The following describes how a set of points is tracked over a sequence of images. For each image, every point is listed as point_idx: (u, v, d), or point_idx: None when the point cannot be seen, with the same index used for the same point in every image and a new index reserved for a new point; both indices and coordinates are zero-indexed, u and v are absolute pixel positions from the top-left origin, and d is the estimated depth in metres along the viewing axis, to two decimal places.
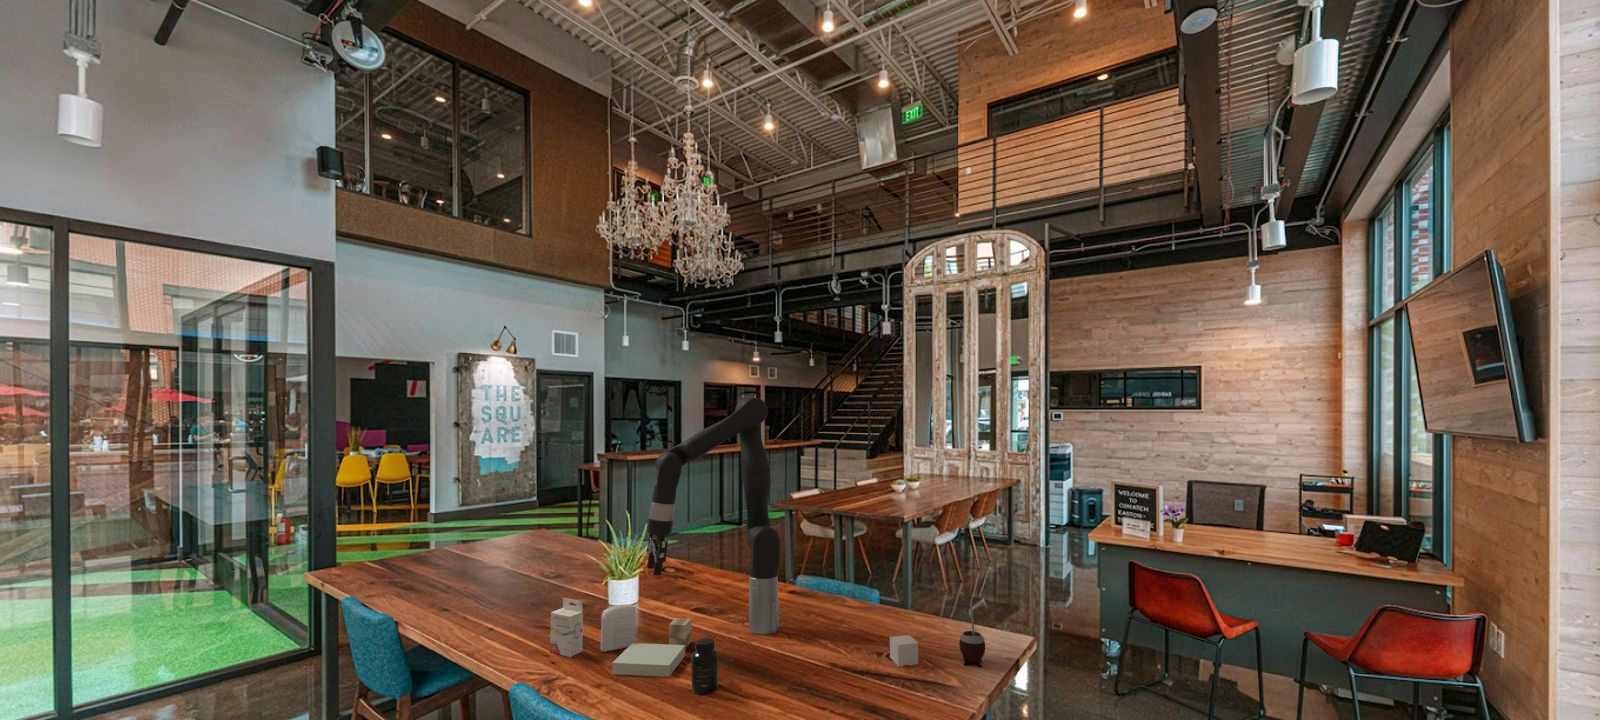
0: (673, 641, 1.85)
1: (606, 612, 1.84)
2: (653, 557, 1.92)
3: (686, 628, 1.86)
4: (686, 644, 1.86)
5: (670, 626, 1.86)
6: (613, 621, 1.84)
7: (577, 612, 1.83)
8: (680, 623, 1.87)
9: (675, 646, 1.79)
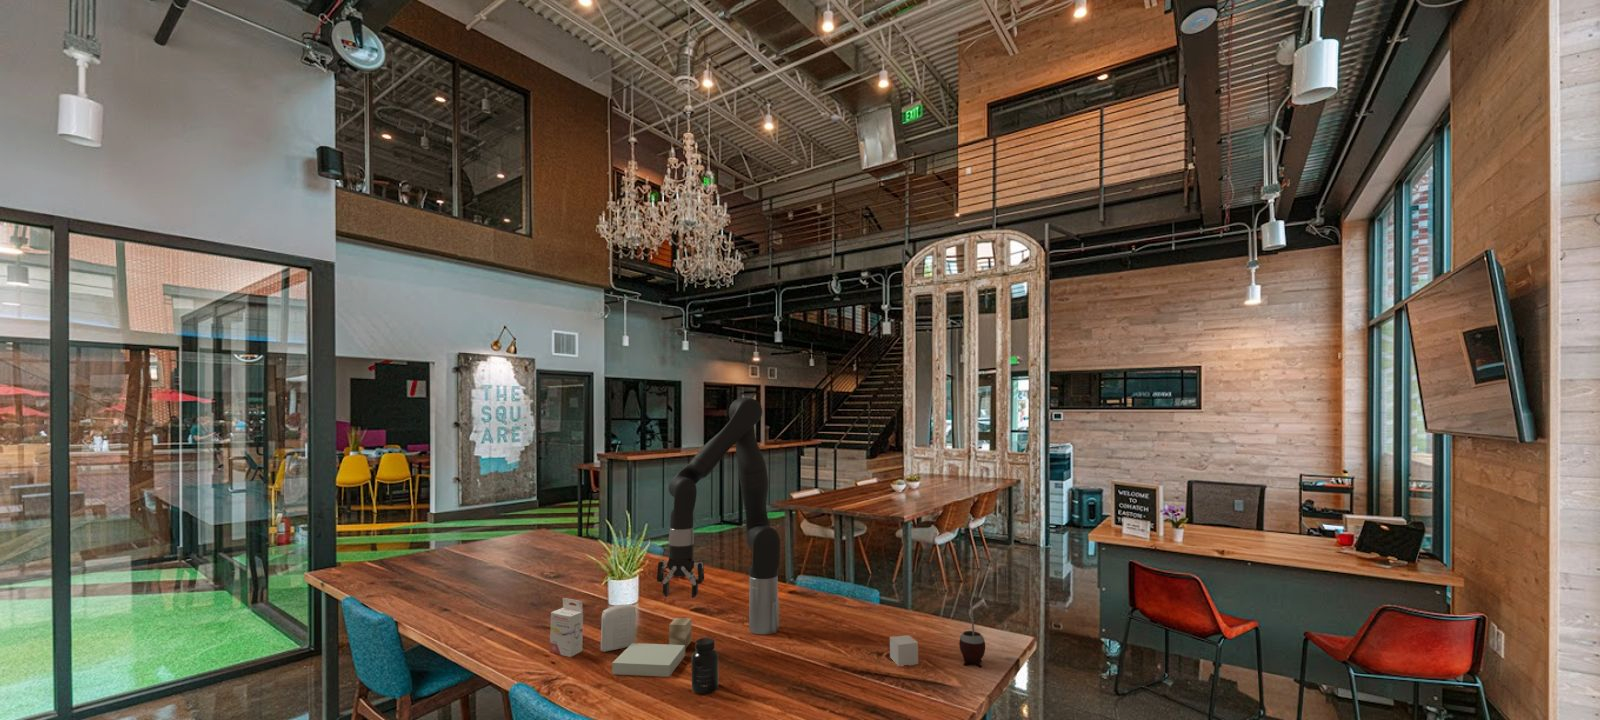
0: (673, 641, 1.85)
1: (606, 612, 1.84)
2: (668, 584, 1.90)
3: (686, 628, 1.86)
4: (686, 644, 1.86)
5: (670, 626, 1.86)
6: (613, 621, 1.84)
7: (577, 612, 1.83)
8: (680, 623, 1.87)
9: (675, 646, 1.79)
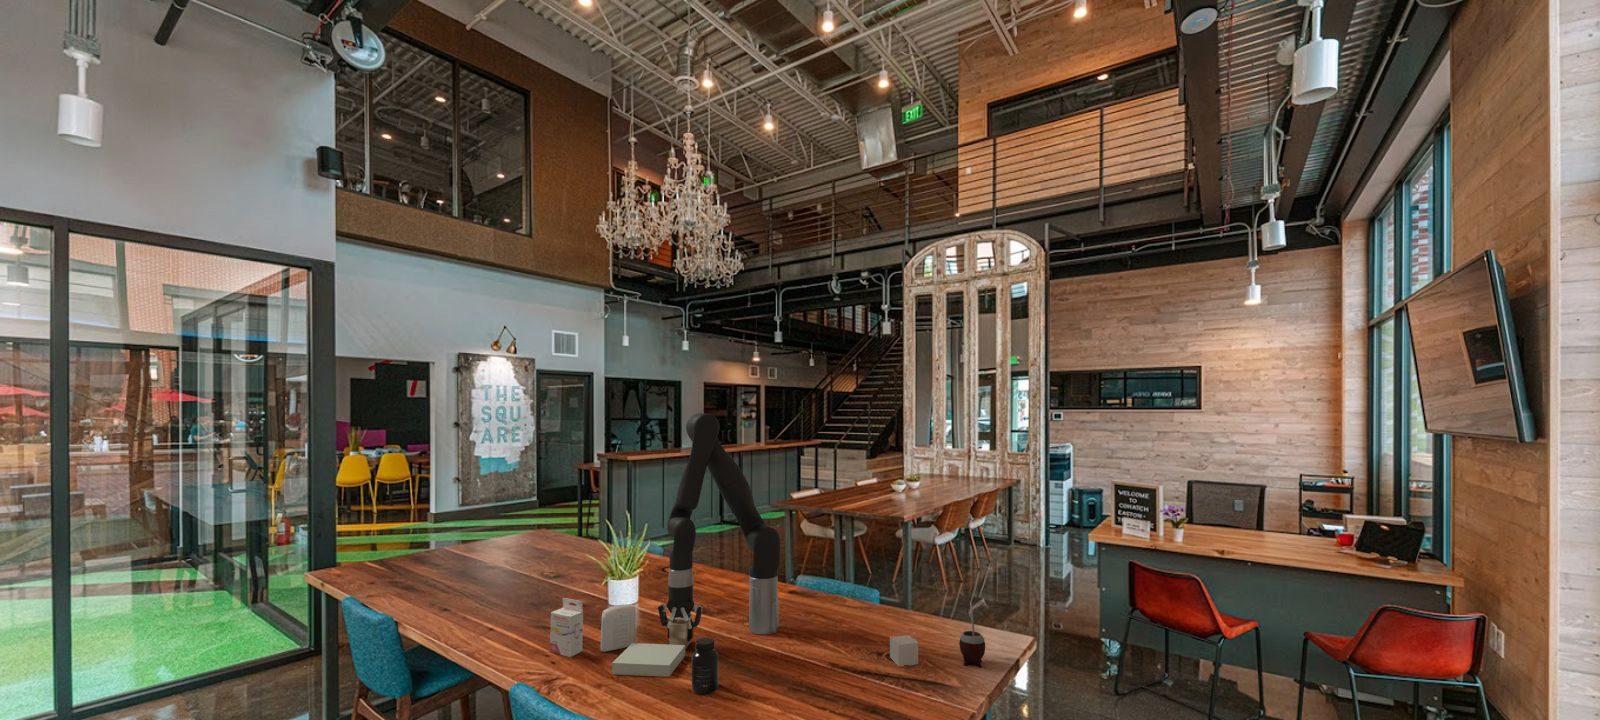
0: (673, 640, 1.85)
1: (606, 612, 1.84)
2: None
3: (686, 627, 1.86)
4: (686, 644, 1.86)
5: (670, 626, 1.86)
6: (613, 621, 1.84)
7: (577, 612, 1.83)
8: (680, 623, 1.87)
9: (675, 646, 1.79)
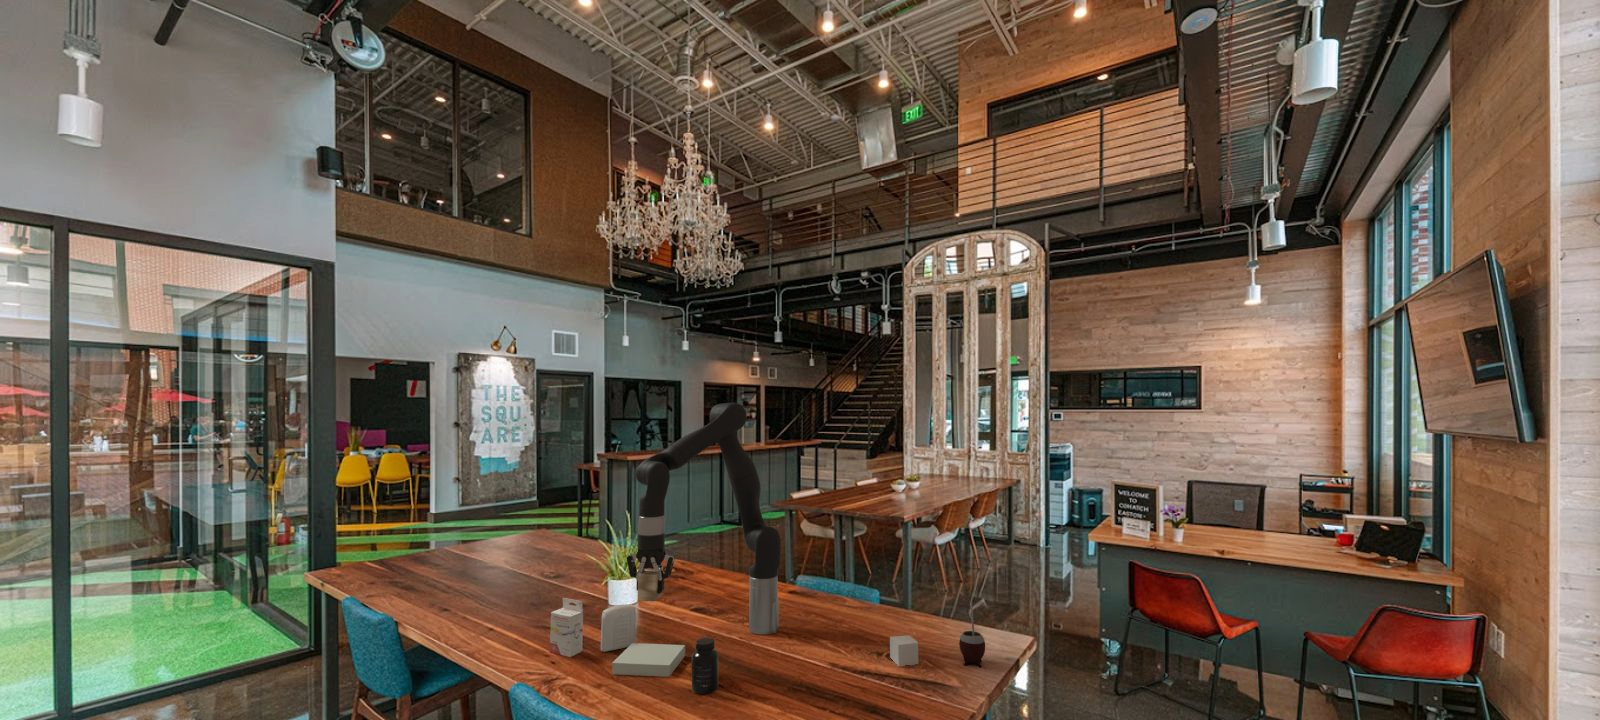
0: (642, 592, 1.73)
1: (606, 612, 1.84)
2: None
3: (656, 579, 1.74)
4: (656, 596, 1.73)
5: (639, 577, 1.73)
6: (613, 621, 1.84)
7: (577, 612, 1.83)
8: (650, 574, 1.74)
9: (675, 646, 1.79)
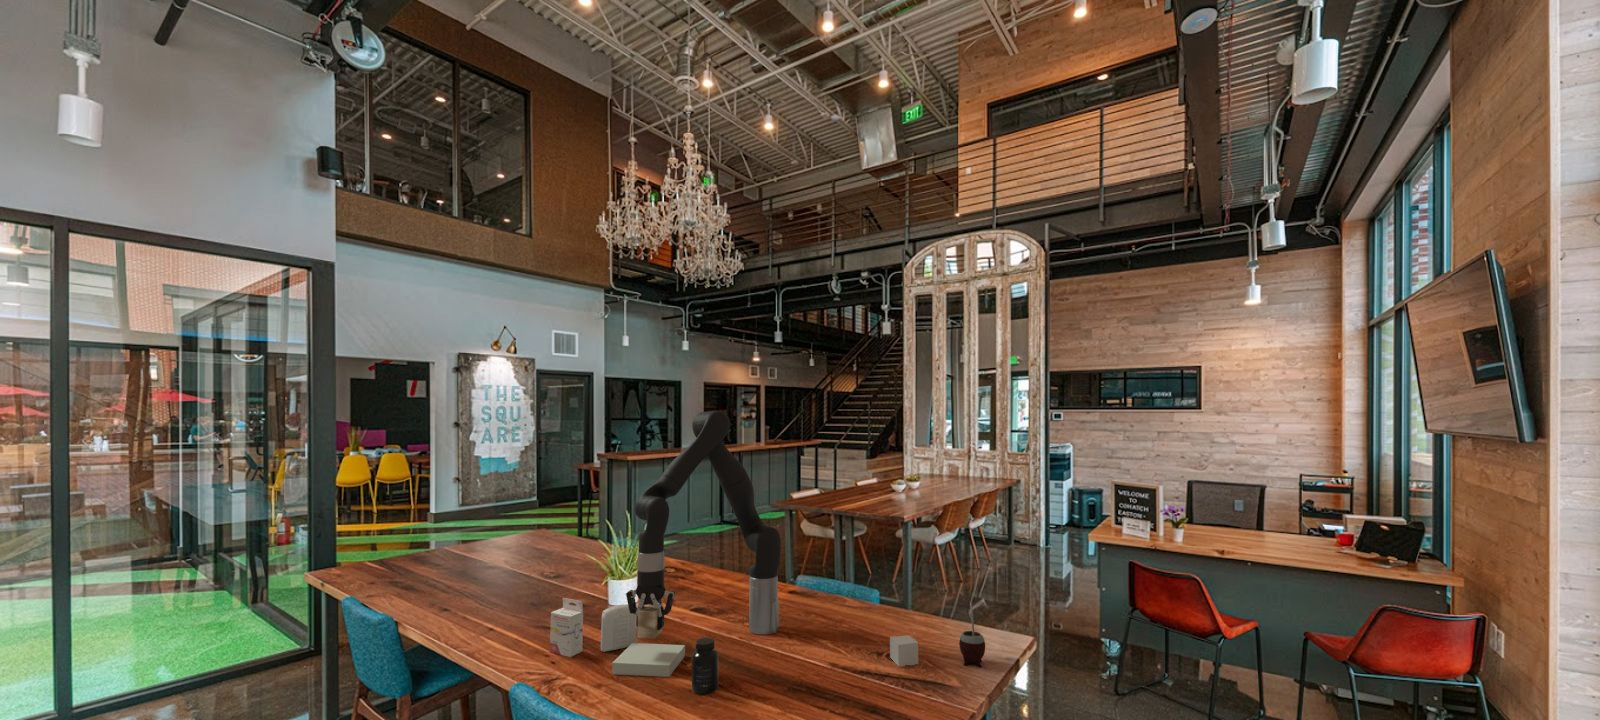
0: (642, 629, 1.72)
1: (606, 612, 1.84)
2: None
3: (656, 615, 1.73)
4: (656, 633, 1.72)
5: (639, 613, 1.72)
6: (613, 621, 1.84)
7: (577, 612, 1.83)
8: (650, 610, 1.73)
9: (675, 646, 1.79)
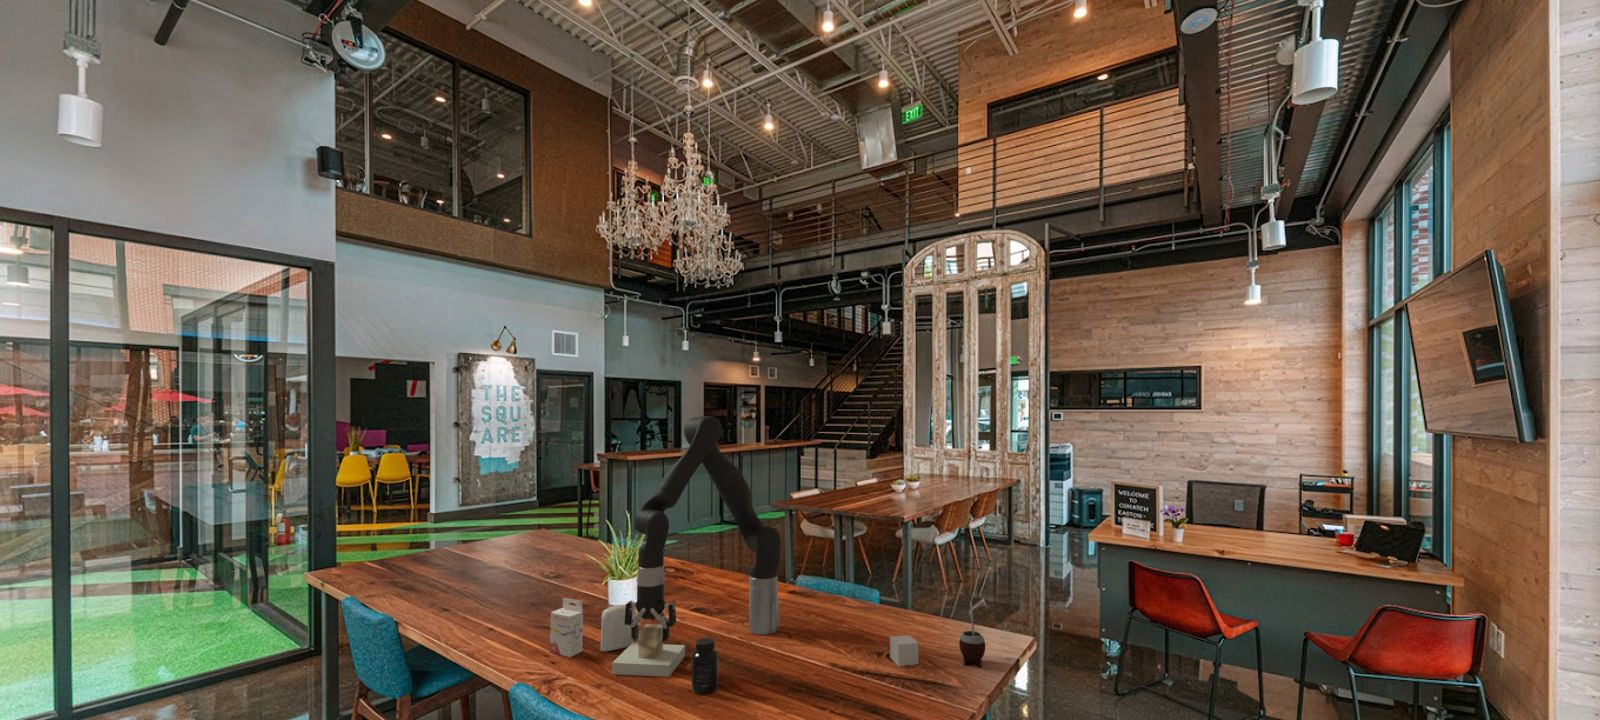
0: (642, 649, 1.71)
1: (606, 612, 1.84)
2: (637, 627, 1.75)
3: (657, 635, 1.72)
4: (657, 653, 1.72)
5: (639, 633, 1.72)
6: (613, 621, 1.84)
7: (577, 612, 1.83)
8: (650, 630, 1.73)
9: (675, 646, 1.79)
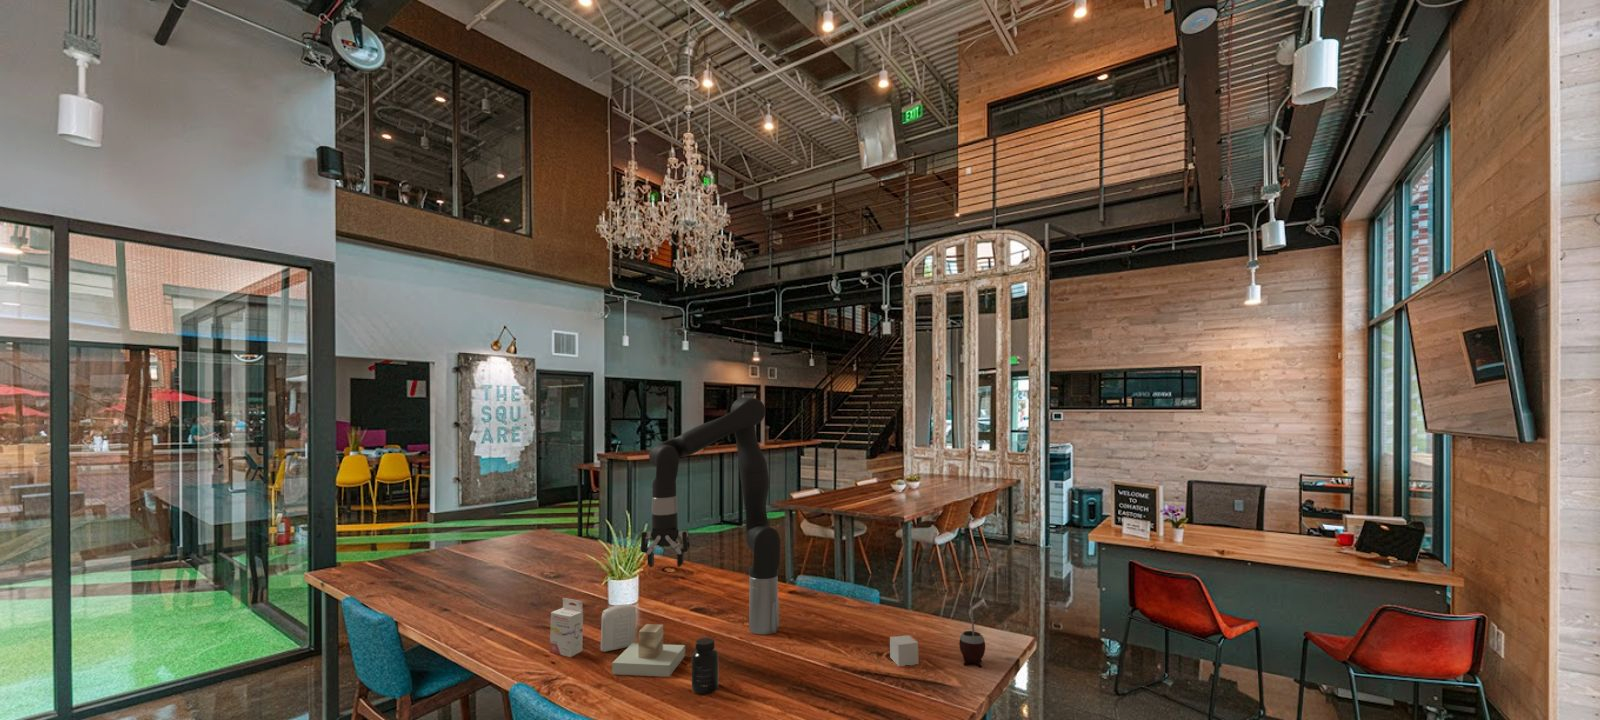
0: (642, 649, 1.71)
1: (606, 612, 1.84)
2: (653, 554, 1.86)
3: (657, 635, 1.72)
4: (657, 653, 1.72)
5: (639, 633, 1.72)
6: (613, 621, 1.84)
7: (577, 612, 1.83)
8: (650, 630, 1.73)
9: (675, 646, 1.79)
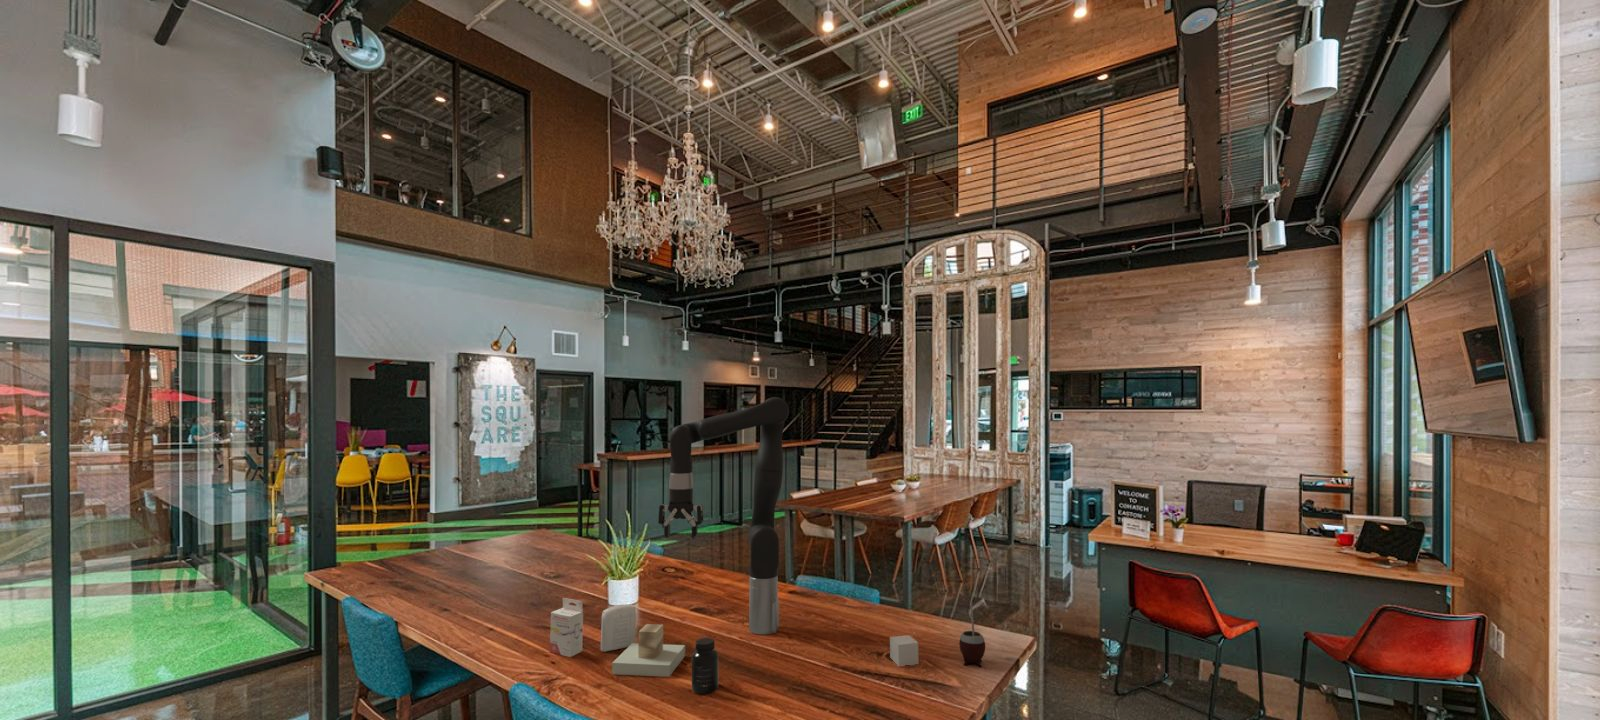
0: (642, 649, 1.71)
1: (606, 612, 1.84)
2: (669, 526, 2.01)
3: (657, 635, 1.72)
4: (657, 653, 1.72)
5: (639, 633, 1.72)
6: (613, 621, 1.84)
7: (577, 612, 1.83)
8: (650, 630, 1.73)
9: (675, 646, 1.79)
